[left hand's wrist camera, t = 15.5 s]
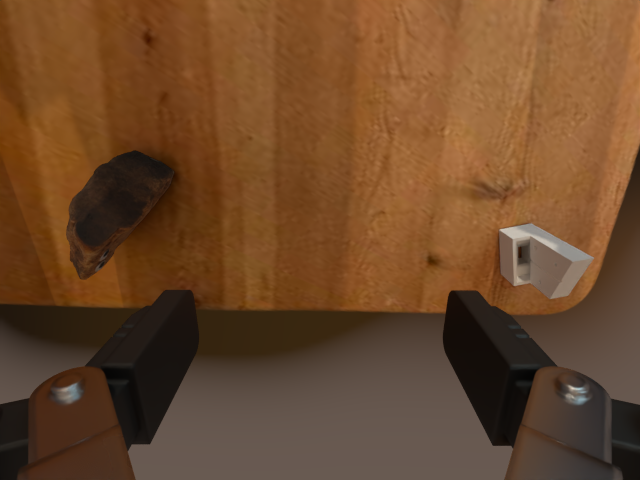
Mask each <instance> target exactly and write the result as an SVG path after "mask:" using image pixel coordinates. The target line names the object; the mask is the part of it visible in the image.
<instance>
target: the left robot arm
mask: <svg viewBox="0 0 640 480" xmlns="http://www.w3.org/2000/svg"><path fill="white" fill-rule="evenodd" d="M198 343H199V331H198V324H197V316H196V309H195V301H194V296H193V293H192V291H191V290H165V291H164V292H163V293H162V294H161V295H160V296H159V297H158V299H157V300H156V301H155V302H154V303H153V304H152V306H145V307H144V308H142V309H141V310H139V311H137V312H136V313H134V314H132V315H131V316H130V317H129V318H128V319H127V320H126V322H125V323H124V324H123V325H122V328H119V329H118V330H117V331H116V333H115V334H114V335H113V337H111V338H110V339H109V340H108V341H107V342H106V343H105V345H104V346H103V347H102V348H101V349H100V350H99V351H98V352H97V353H96V354H95V356H94V357H93V358H92V359H91V360H90V361H89V362H88V363H87V364H86V365H85V366H84V367H77V368H73V369H69V370H66V371H63V372H61V373H59V374H57V375H54V376H53V377H51V378H49V379H48V380H46V381H45V382H43V383H42V384H41V385H39V386H38V387H37V388H36V389H35V390H34V391H33V393H32V394H31V396H30V398H28V399H23V400H19V401H14V402H9V403H4V404H0V480H136V479H135V476H134V472H133V469H132V465H131V462H130V458H129V455H128V450H129V448H130V446H131V445H132V444H150V443H151V441H152V439H153V437H154V435H155V433H156V431H157V429H158V427H159V425H160V423H161V421H162V420H163V417H164V416H165V414H166V412H167V410H168V408H169V406H170V404H171V402H172V400H173V398H174V396H175V394H176V392H177V390H178V388H179V386H180V384H181V382H182V380H183V378H184V376H185V374H186V372H187V370H188V368H189V366H190V364H191V362H192V360H193V358H194V356H195V354H196V352H197V348H198ZM443 345H444V350H445V353H446V355H447V357H448V359H449V361H450V363H451V365H452V367H453V369H454V371H455V373H456V375H457V377H458V379H459V381H460V382H461V384H462V386H463V388H464V390H465V392H466V394H467V396H468V398H469V400H470V402H471V404H472V406H473V408H474V410H475V412H476V414H477V416H478V418H479V420H480V422H481V423H482V425H483V427H484V429H485V431H486V433H487V435H488V437H489V439H490V441H491V443H492V445H493V446H512V448H513V451H512V455H511V458H510V462H509V465H508V469H507V472H506V476H505V479H504V480H640V405H638V404H633V403H628V402H624V401H619V400H614V399H611V398H610V396H609V394H608V393H607V392H606V390H605V389H604V388H603V387H602V386H601V385H599V384H598V383H597V382H595V381H594V380H593V379H591V378H589V377H587V376H586V375H583V374H581V373H579V372H576V371H574V370H571V369H567V368H563V367H558V366H557V365H556V364H555V363H554V362H553V361H552V360H551V359H550V358H549V357H548V355H547V354H546V353H545V352H544V351H543V350H542V349H541V348H540V347H539V346H538V345H537V344H536V342H535V341H534V340H533V339H532V338H529V335H528V334H527V333H526V332H525V331H524V329H521V326H520V325H519V324H518V323H517V322H516V321H515V320H514V319H513V317H512V316H511V315H509V314H507V313H506V312H504V311H502V310H501V309H499V308H497V307H496V306H490V305H489V304H488V302H487V301H486V300H485V299H484V298H483V297H482V295H481V294H480V293H479V292H478V291H451V292H450V293H449V296H448V302H447V309H446V316H445V323H444V330H443Z"/></svg>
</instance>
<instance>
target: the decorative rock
mask: <svg viewBox="0 0 640 480" xmlns="http://www.w3.org/2000/svg"><path fill="white" fill-rule="evenodd" d="M173 175H174V171H173V170H172V169H171V168H169V167H168V166H166V165H165V164H163V163H162V162H160V161H157V160H155V159H153V158H151V157H149V156H147V155H145V154H143V153H141V152H138V151H132V152H128V153H124V154H122V155H119V156H117V157H115V158H113V159H112V160H111V161H110V162H108V163H105V164H102V165H101V166H99V167H98V168H97V169H96V170H95V171H94V174H93V175H92V177H91V178H90V179H89V181H88V182H87V184H86V185H85V187H84V188H83V189H82V190H81V191H80V192H79V193H78V194H77V195H76V196H75V197H74V198H73V199H72V201H71V203H70V206H69V215H70V219H69V223H68V226H67V232H66V236H67V240H68V241H69V244H70V249H71V251H70V261H71V262H73V265H74V267H75V268H76V270H77V273H78V275H79V277H80V279H82V280H86V279H87V278H89V277H90V276H92V275H93V274H95V273H96V272H97V271H98V270H100V269H101V268H102V267H103V266H104V265H105V264H106V263H107V262H108V261H109V259H110V258H111V257H112V255H113V254H114V251H115V249H116V248H117V247H118V246H119V245H120V244H121V243H122V242H123V241H124V240H125V239H126V238H127V237H128V236H129V235H130V233H131V232H132V231H133V230H134V229H135V228H136V226H137V225H138V224H139V223H140V222H141V221H142V220H143V219H144V217H145V216H146V215H147V214H148V213H149V212H150V210H151V209H152V208H153V207H154V205H155V204H156V203H157V202H158V200H159V199H160V197H161V196H162V195H163V194H164V193H165V191H166V190H167V189H168V188H169V186H170V184H171V180H172V178H173Z"/></svg>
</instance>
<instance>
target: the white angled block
mask: <svg viewBox="0 0 640 480" xmlns="http://www.w3.org/2000/svg"><path fill="white" fill-rule="evenodd" d="M499 244H500V269H501V275H503V276H504V277H505V278H506V279H507V280H508V281H509V282H510V283H511V284H512V285H513V286H517V285H522V284H528V283H531V284H532V285H533V286H535V287H536V288H537V289H538V290H539V291H541V292H542V293H543V294H544V295H546V296H547V297H548V298H549V299H553V298H558V297H564V296H568V295H569V294H570V292H571V291H572V289H573V288H574V286H575V285H576V283H577V282H578V280H579V279H580V278H581V276H582V275H583V273H584V272H585V270H586V269H587V267H588V266H589V265H590V263H591V262H592V260H593V259H594V258H593V257H592V256H590V255H588V254H586V253H584V252H582V251H581V250H579V249H577V248H575V247H573V246H571V245H570V244H568V243H566V242H564V241H562V240H560V239H559V238H557V237H555V236H553V235H551V234H549V233H548V232H546V231H544V230H542V229H540V228H539V227H537V226H535V225H533V224H526V225H521V226H515V227H510V228H505V229H500V230H499ZM520 246H521V255H522V258H518V247H520Z"/></svg>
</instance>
